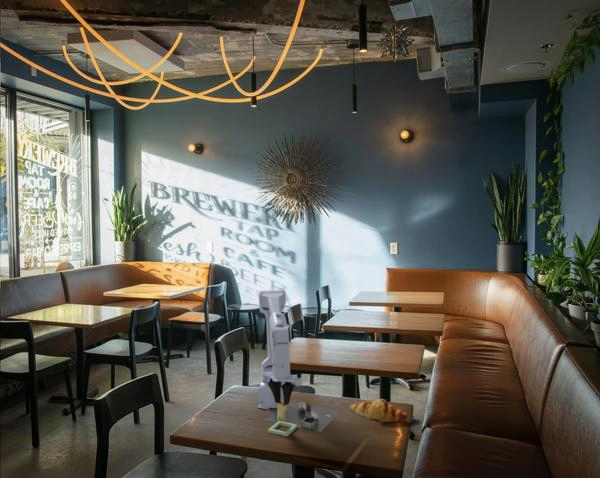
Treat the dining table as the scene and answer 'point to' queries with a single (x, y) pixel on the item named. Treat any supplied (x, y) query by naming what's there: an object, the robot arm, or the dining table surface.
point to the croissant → (379, 411)
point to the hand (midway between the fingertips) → (282, 402)
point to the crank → (307, 409)
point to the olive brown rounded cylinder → (281, 411)
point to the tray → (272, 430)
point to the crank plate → (306, 417)
